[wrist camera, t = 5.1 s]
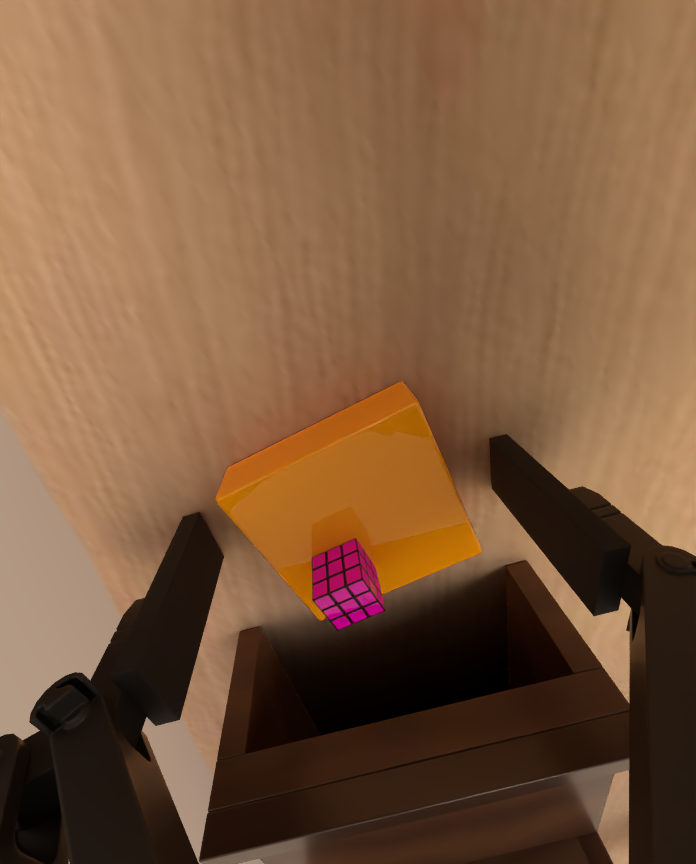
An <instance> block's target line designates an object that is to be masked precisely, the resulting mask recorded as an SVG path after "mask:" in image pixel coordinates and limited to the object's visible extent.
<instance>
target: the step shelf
mask: <svg viewBox="0 0 696 864" xmlns="http://www.w3.org/2000/svg"><path fill="white" fill-rule="evenodd" d="M506 593H507V630H508V666H509V690H507V691H503V692H499V693H494V694H490V695H486V696H482V697H478V698H474V699H470V700H466V701H461V702H457V703H453V704H449V705H445V706H441V707H437V708H433V709H429V710H424V711H420V712H416V713H412V714H408V715H404V716H400V717H396V718H392V719H387V720H383V721H379V722H375V723H371V724H367V725H363V726H359V727H354V728H350V729H346V730H342V731H338V732H334V733H330V734H326V735H322V736H321V735H320V733H319V731H318V730H317V728H316V726H315V724H314V722H313V721H312V719H311V717H310V715H309V713H308V712H307V710H306V708H305V706H304V704H303V703H302V701H301V699H300V697H299V695H298V694H297V692H296V690H295V688H294V686H293V684H292V683H291V681H290V679H289V677H288V675H287V674H286V672H285V670H284V668H283V666H282V665H281V663H280V661H279V659H278V657H277V656H276V654H275V652H274V650H273V648H272V647H271V645H270V643H269V641H268V639H267V637H266V636H265V634H264V632H263V630H262V628H261V627H257V628H253V629H249V630H245V631H241V632H240V633H239V639H238V645H237V650H236V656H235V661H234V667H233V673H232V678H231V684H230V689H229V695H228V701H227V706H226V712H225V717H224V723H223V729H222V734H221V740H220V745H219V751H218V757H217V760H218V761H217V763H216V768H215V774H214V779H213V785H212V791H211V796H210V802H209V808H208V812H209V813H208V814H207V818H206V824H205V830H204V836H203V841H202V846H201V852H200V857H199V862H200V863H202V864H238V863H242V862H246V861H250V860H255V859H260V860H261V861H263V862H264V863H265V864H613V862H612V860H611V858H610V856H609V854H608V852H607V850H606V848H605V846H604V844H603V842H602V840H601V838H600V836H599V834H598V832H597V831H598V827H599V824H600V821H601V817H602V814H603V810H604V807H605V803H606V800H607V796H608V793H609V790H610V786H611V783H612V779H613V776H614V773H618V772H622V771H627V770H629V705H630V704H629V703H628V701H627V700H626V699H625V697H624V696H623V694H622V693H621V692H620V690H619V689H618V687H617V686H616V685H615V683H614V682H613V680H612V679H611V678H610V676H609V675H608V673H607V672H606V671H605V669H604V668H603V667H602V665H601V663H600V662H599V661H598V659H597V658H596V656H595V655H594V654H593V652H592V651H591V649H590V648H589V647H588V645H587V644H586V643H585V641H584V640H583V638H582V637H581V636H580V634H579V633H578V631H577V630H576V629H575V627H574V626H573V624H572V623H571V622H570V620H569V619H568V617H567V616H566V615H565V613H564V612H563V610H562V609H561V608H560V606H559V605H558V603H557V602H556V601H555V599H554V598H553V596H552V595H551V594H550V592H549V591H548V589H547V588H546V587H545V585H544V584H543V582H542V581H541V580H540V578H539V577H538V576H537V574H536V573H535V571H534V570H533V569H532V567H531V566H530V564H529V563H528V562H527V561H524V562H520V563H516V564H512V565H508V566H506Z"/></svg>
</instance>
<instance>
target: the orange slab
mask: <svg viewBox="0 0 696 864" xmlns="http://www.w3.org/2000/svg"><path fill="white" fill-rule="evenodd" d="M215 501H216V503H217V504H218V505H219V506H220V507H221V508H222V509H223V511H224V512H225V513H226V514H227V515H228V516H229V517H230V519H231V520H232V521H233V522H234V523H235V524H236V525H237V527H238V528H239V529H240V530H241V531H242V532H243V533H244V535H245V536H246V537H247V538H248V539H249V540H250V541H251V543H252V544H253V545H254V546H255V547H256V548H257V549H258V551H259V552H260V553H261V554H262V555H263V556H264V557H265V559H266V560H267V561H268V562H269V563H270V564H271V566H272V567H273V568H274V569H275V570H276V571H277V572H278V574H279V575H280V576H281V577H282V578H283V579H284V580H285V582H286V583H287V584H288V585H289V586H290V587H291V588H292V590H293V591H294V592H295V593H296V594H297V595H298V596H299V598H300V599H301V600H302V601H303V602H304V603H305V604H306V606H307V607H308V608H309V609H310V610H311V611H312V612H313V614H314V615H315V616H316V617H317V618H318V619H319V620H323V619H326V618H328V620H329V621H330V622H331V623H332V624H333V625H334V627H335V628H336V629H337V630H340V629H342V628H345V627H347V626H350V625H352V624H354V623H357V622H359V621H362V620H364V619H366V618H369V617H371V616H374V615H376V614H378V613H381V612H383V611H385V607H384V602H383V598H382V595H383V594H385V593H387V592H390V591H392V590H394V589H397V588H399V587H402V586H404V585H406V584H409V583H411V582H413V581H416V580H418V579H420V578H423V577H425V576H428V575H430V574H432V573H435V572H437V571H439V570H442V569H444V568H447V567H449V566H451V565H454V564H456V563H458V562H461V561H463V560H465V559H468V558H470V557H473V556H475V555H477V554H480V553H481V552H482V548H481V546H480V544H479V541H478V539H477V537H476V534H475V532H474V530H473V527H472V525H471V523H470V520H469V518H468V516H467V513H466V511H465V509H464V506H463V504H462V502H461V499H460V497H459V495H458V492H457V490H456V488H455V485H454V483H453V481H452V478H451V476H450V474H449V471H448V469H447V467H446V464H445V462H444V460H443V457H442V455H441V453H440V450H439V448H438V446H437V443H436V441H435V439H434V436H433V434H432V432H431V429H430V427H429V425H428V422H427V420H426V418H425V415H424V413H423V411H422V408H421V406H420V404H419V402H418V400H417V399H416V398H415V396H414V395H413V394H412V392H411V391H410V390H409V388H408V387H407V386H406V384H405V383H404V382H403V381H400V382H398V383H396V384H394V385H392V386H390V387H388V388H386V389H384V390H382V391H380V392H378V393H376V394H374V395H372V396H370V397H368V398H366V399H364V400H362V401H360V402H358V403H356V404H354V405H352V406H350V407H348V408H346V409H344V410H342V411H340V412H338V413H336V414H334V415H332V416H330V417H328V418H326V419H324V420H322V421H320V422H318V423H316V424H314V425H312V426H310V427H308V428H306V429H304V430H302V431H300V432H298V433H296V434H294V435H292V436H290V437H288V438H286V439H284V440H282V441H280V442H278V443H276V444H274V445H272V446H270V447H268V448H266V449H264V450H262V451H260V452H258V453H256V454H254V455H252V456H250V457H248V458H246V459H244V460H242V461H240V462H238V463H236V464H233V465H231V466H229V467H228V468H227V469H226V472H225V475H224V477H223V480H222V483H221V485H220V488H219V491H218V493H217V496H216V499H215Z"/></svg>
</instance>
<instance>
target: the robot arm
mask: <svg viewBox="0 0 696 864" xmlns="http://www.w3.org/2000/svg"><path fill="white" fill-rule="evenodd" d="M490 457H491V478H492V489H493V490H494V492H495V493H496V494H497V495H498V497H499V498H500V499H501V500H502V502H503V503H504V504H505V505H506V507H507V508H508V509H509V510H510V512H511V513H512V514H513V515H514V517H515V518H516V519H517V520H518V522H519V523H520V524H521V525H522V527H523V528H524V529H525V530H526V532H527V533H528V534H529V535H530V537H531V538H532V539H533V540H534V542H535V543H536V544H537V545H538V547H539V548H540V549H541V550H542V552H543V553H544V554H545V555H546V557H547V558H548V559H549V561H550V562H551V563H552V564H553V566H554V567H555V568H556V569H557V571H558V572H559V573H560V574H561V576H562V577H563V578H564V579H565V581H566V582H567V583H568V584H569V586H570V587H571V588H572V589H573V591H574V592H575V593H576V594H577V596H578V597H579V598H580V599H581V601H582V602H583V603H584V604H585V606H586V607H587V608H588V609H589V611H590V612H591V613H592V614H593V616H597V615H601V614H605V613H609V612H613V611H617V610H619V605H620V600H621V598H622V599H623V600H624V601H625V602H626V603H627V604H628V605H629V606H630V607H631V612H630V616H629V621H628V625H627V629H626V630H627V631H630V705H629V864H696V556H694V555H692V554H690V553H688V552H687V551H685V550H682V549H679V548H675V547H672V546H663V545H661V544H660V543H658V542H657V541H656V540H655V539H654V538H652V537H651V536H650V535H649V534H647V533H646V532H645V531H644V530H643V529H641V528H640V527H639V526H638V525H636V524H635V523H634V522H633V521H631V520H630V519H629V518H628V517H627V516H625V515H624V514H621V512H620V511H619V510H618V509H617V508H616V507H614V506H613V505H612V506H611V503H609V502H608V501H607V500H606V499H604V498H603V497H602V496H601V495H600V494H598V493H596V492H594V491H592V490H589V489H587V488H585V487H583V486H582V487H578V488H574V489H570V490H569V489H568V488H566V487H565V486H564V485H563V484H562V483H561V482H560V481H559V480H557V479H556V478H555V477H554V476H553V475H552V474H551V473H550V472H548V471H547V470H546V469H545V468H544V467H543V466H542V465H541V464H539V463H538V462H537V461H536V460H535V459H534V458H533V457H532V456H531V455H529V454H528V453H527V452H526V451H525V450H524V449H523V448H522V447H520V446H519V445H518V444H517V443H516V442H515V441H514V440H513V439H511V438H510V437H509V436H508V435H507V434H506V435H502V436H498V437H494V438H490ZM223 558H224V556H223V554H222V552H221V550H220V548H219V547H218V545H217V543H216V541H215V539H214V537H213V536H212V534H211V532H210V530H209V528H208V526H207V525H206V523H205V521H204V519H203V517H202V515H201V514H200V512H199V513H195V514H192V515H188V516H184V517H183V518H182V520H181V522H180V524H179V526H178V528H177V530H176V533H175V535H174V537H173V539H172V541H171V543H170V545H169V548H168V550H167V552H166V554H165V556H164V558H163V560H162V563H161V565H160V567H159V569H158V571H157V573H156V575H155V577H154V580H153V582H152V584H151V586H150V588H149V590H148V592H147V595H146V597H145V598H143V599H139V600H136V601H135V602H134V603H133V604H132V605H131V607H130V608H129V609H128V610H127V611H126V612H125V614H124V615H123V617H122V619H121V621H120V623H119V625H118V627H117V631H116V632H115V633H114V635H113V637H112V639H111V643H110V644H109V645H108V647H107V649H106V651H105V653H104V655H103V657H102V659H101V661H100V663H99V665H98V667H97V669H96V671H95V672H94V675H93V677H92V678H91V681H90V680H89V679H88V678H87V677H86V676H85V675H84V674H83V673H76V672H75V673H72V674H69V675H66V676H64V677H63V678H61V679H60V680H58V681H57V682H55V683H54V684H53V685H52V686H51V687H50V688H48V689H47V690H46V691H45V692H44V694H43V695H42V696H41V697H40V699H39V700H38V701H37V702H36V704H35V706H34V708H33V710H32V712H31V715H30V723H31V724H32V725H34V726H35V727H37V728H38V729H39V730H40V731H39V732H37V733H35V734H33V735H31V736H30V737H28V738H26V739H24V740H21V739H20V738H19V737H17V736H16V735H14V734H7V735H3V736H1V737H0V864H68V862H70V864H199V863H198V861H197V858H196V856H195V853H194V851H193V849H192V846H191V844H190V841H189V839H188V836H187V834H186V831H185V829H184V827H183V824H182V822H181V819H180V817H179V814H178V812H177V810H176V807H175V804H174V802H173V800H172V797H171V795H170V792H169V790H168V787H167V785H166V783H165V780H164V778H163V775H162V773H161V771H160V768H159V765H158V763H157V761H156V759H155V756H154V753H153V751H152V748H151V746H150V743H149V741H148V739H147V736H146V735H145V734H144V733H143V732H142V728H143V725H144V722H145V719H146V717H148V719H149V720H151V722H152V723H153V724H154V725H155V726H157V725H161V724H165V723H169V722H173V721H177V720H180V717H181V713H182V710H183V706H184V702H185V699H186V695H187V691H188V687H189V684H190V680H191V676H192V673H193V669H194V665H195V662H196V658H197V654H198V650H199V647H200V643H201V639H202V636H203V632H204V628H205V625H206V621H207V617H208V613H209V610H210V606H211V602H212V599H213V595H214V591H215V588H216V584H217V580H218V576H219V573H220V569H221V565H222V562H223Z"/></svg>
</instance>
